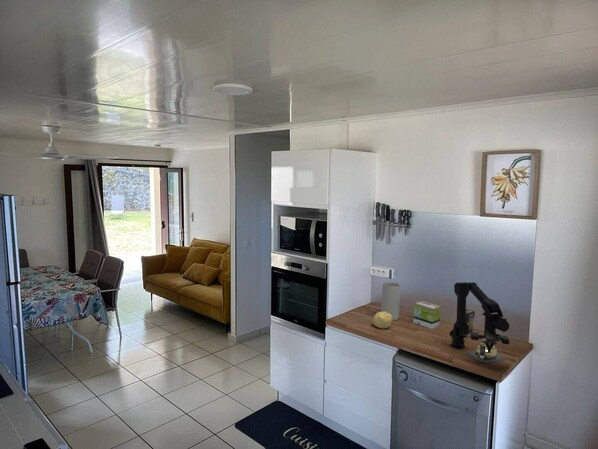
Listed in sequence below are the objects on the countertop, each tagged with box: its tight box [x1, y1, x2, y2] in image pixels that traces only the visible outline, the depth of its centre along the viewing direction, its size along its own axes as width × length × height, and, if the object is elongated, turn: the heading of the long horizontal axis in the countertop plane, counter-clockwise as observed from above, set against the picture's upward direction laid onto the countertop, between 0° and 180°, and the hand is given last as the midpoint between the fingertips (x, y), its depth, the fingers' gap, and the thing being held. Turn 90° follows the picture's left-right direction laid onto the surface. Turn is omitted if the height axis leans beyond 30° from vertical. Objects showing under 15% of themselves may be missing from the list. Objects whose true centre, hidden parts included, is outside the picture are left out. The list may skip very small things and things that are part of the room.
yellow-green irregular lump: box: [474, 342, 498, 359], centre depth 228 cm, size 17×11×8 cm, turn 145°
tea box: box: [412, 300, 441, 330], centre depth 282 cm, size 15×10×15 cm, turn 42°
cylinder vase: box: [380, 281, 401, 322], centre depth 294 cm, size 12×12×25 cm
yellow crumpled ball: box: [373, 311, 393, 329], centre depth 275 cm, size 12×12×11 cm
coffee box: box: [464, 308, 476, 339], centre depth 264 cm, size 9×6×16 cm
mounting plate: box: [466, 350, 506, 365], centre depth 231 cm, size 13×15×2 cm
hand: (488, 353), depth 221 cm, fingers closed
